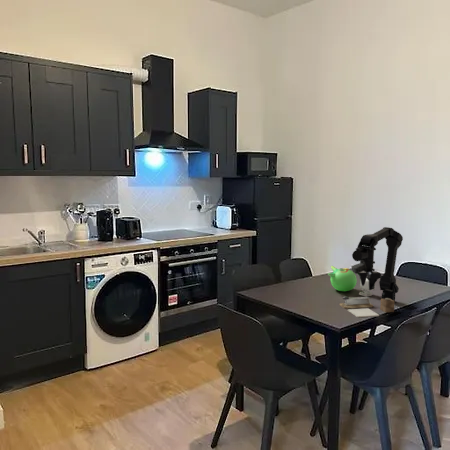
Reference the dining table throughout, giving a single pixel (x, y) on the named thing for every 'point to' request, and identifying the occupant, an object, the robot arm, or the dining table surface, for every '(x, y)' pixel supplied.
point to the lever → (356, 300)
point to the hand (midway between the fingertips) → (366, 287)
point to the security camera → (366, 288)
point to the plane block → (355, 305)
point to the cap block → (387, 305)
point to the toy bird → (342, 279)
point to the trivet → (363, 312)
